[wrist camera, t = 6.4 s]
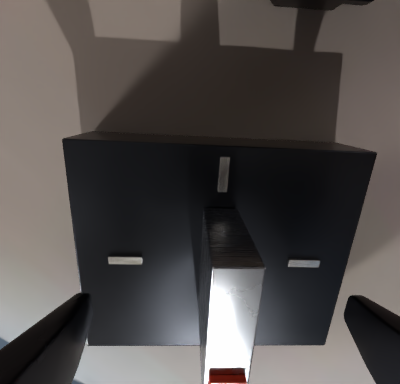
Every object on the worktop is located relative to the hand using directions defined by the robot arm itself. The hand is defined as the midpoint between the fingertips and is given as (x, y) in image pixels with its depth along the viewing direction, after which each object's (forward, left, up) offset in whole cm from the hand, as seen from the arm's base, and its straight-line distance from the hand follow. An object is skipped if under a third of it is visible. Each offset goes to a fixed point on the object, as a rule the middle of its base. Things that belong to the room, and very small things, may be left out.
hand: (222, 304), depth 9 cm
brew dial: (0, 0, -2) cm, 2 cm away
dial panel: (0, 0, -6) cm, 6 cm away
